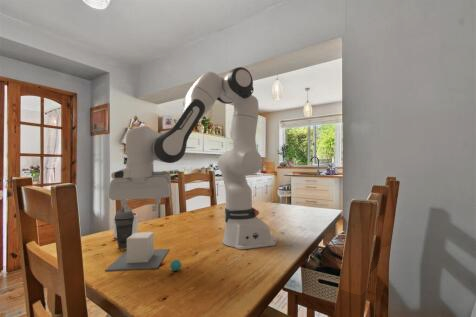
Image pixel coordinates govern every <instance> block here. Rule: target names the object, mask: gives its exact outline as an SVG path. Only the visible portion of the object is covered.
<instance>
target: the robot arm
mask: <svg viewBox="0 0 476 317" xmlns="http://www.w3.org/2000/svg"><path fill="white" fill-rule="evenodd" d="M253 85H254V81H253V76H252V74H251V72H250V70H248V69H247V68H245V67H243V66H240V67H234V68H232V69H231V70H230V71H228V73H226V75H224V76H223V77H220V76H219V75H218V74H217V73H215V72H213V71H206V72H204V73H203V74H201V76H200V77H198V79H196V80H195V81H194V83H193V84H192V85H191V86H190V88H189V89H188V91H187V92H186V94H185V96H184V98H183V100H182V106H183V111H182V113H181V114H180V115H179V117H178V118H177V120H176V122H175V123H174V125H173V126H172V127H171V128H170V129H169V130H167V131H165V132H164V133H159V132H157V131H155V129H152V128H151V127H150V126H146V125H145V126H144V125H139V126H135V127H131V128H130V129H129V130H127V132H126V136H125V154H126V159H127V160H126V162H125V166H126V167H125V168H122V169H119V170H116V171H113V172H112V173H111V174H110V175H111V176H110V177H111V179H112V180H111V181H110V183H109V188H108V196H109V197H108V198H109V199H110V200H111V201H120V204H121V207H122V206H123V207H124V212H125V213H127V212H130V211H132V209H131V208H132V207H131V206H129V205H128V204H127V203H128V200H143V199H144V200H146V199H155V200H154V201H155V202H156V203H155V204H154V205H152V206H151V208H152V212H157V211H158V210H159V204H160V203H161V200H162V198H163V199H166V198H169V197H170V196H171V194H172V192H171V184H170V183H171V182H172V180H171V174H170V173H169V172H168V171H155V170H154V161H158V162H161V163H166V164H174V163H177V162H179V161H180V160H181V159H182V158H183V157H184V155H185V153H186V150H187V143H188V139H190V138H189V137H190V135H191V134H192V133H193V131H194V129H195V128H196V126H197V125H198V123H199V121H200V120H201V119H202V118H203V117H204V116H206V115H207V113H209V111H210V110H211V109H212V108H213V106H214V105H215V103H216V101H219V103H222V104H226V105H228V104H232V103H233V114H232V120H231V126H230V132H229V135H230V137H231V138H232V145H233V149H232V150H228V151H225V152H224V153H222V154H220V155H219V157H218V160H217V168H218V169H219V170H220V173H221V175H222V178H223V179H222V180H223V184H224V189H225V191H224V192H225V208H224V221H225V227H224V234H223V238H222V244H224V245H225V246H228V247H232V248H235V249H237V250H247V249H248V250H249V249H256V248H257V249H258V248H265V247H272V246H275V245H276V244H277V239H276V237H275V236H274V235H272V233H271V229H270V226H269V225H268V224H267V223H266V222H264V221H263V220H262V219H261V218H260V217H258V216H259V214H260V211H259V210H258V209H256V208H254V207H253V200H252V199H253V198H252V197H253V196H252V195H253V194H252V192H253V191H252V188H251V187H250V185H249V184H248V181H247V178H246V177H248V176H252V175H255V174H257V173H258V172H260V170H261V169H262V165H263V158H262V156H261V154H260V153H259V151H258V150H257V142H256V135H257V129H258V128H257V127H258V121H259V120H258V119H259V100H258V99H257V97H256V96H254V95H253V93H254V86H253Z"/></svg>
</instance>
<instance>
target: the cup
mask: <svg viewBox="0 0 476 317" xmlns="http://www.w3.org/2000/svg"><path fill="white" fill-rule="evenodd" d="M133 214H134V221H133V227H132V234H133V233H139V231H138V228H139V226H138V217H139V216H138V213H136V212H133ZM114 219H115V215H113V237H114V239H116V240H117V231H116V224H115V220H114Z"/></svg>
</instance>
